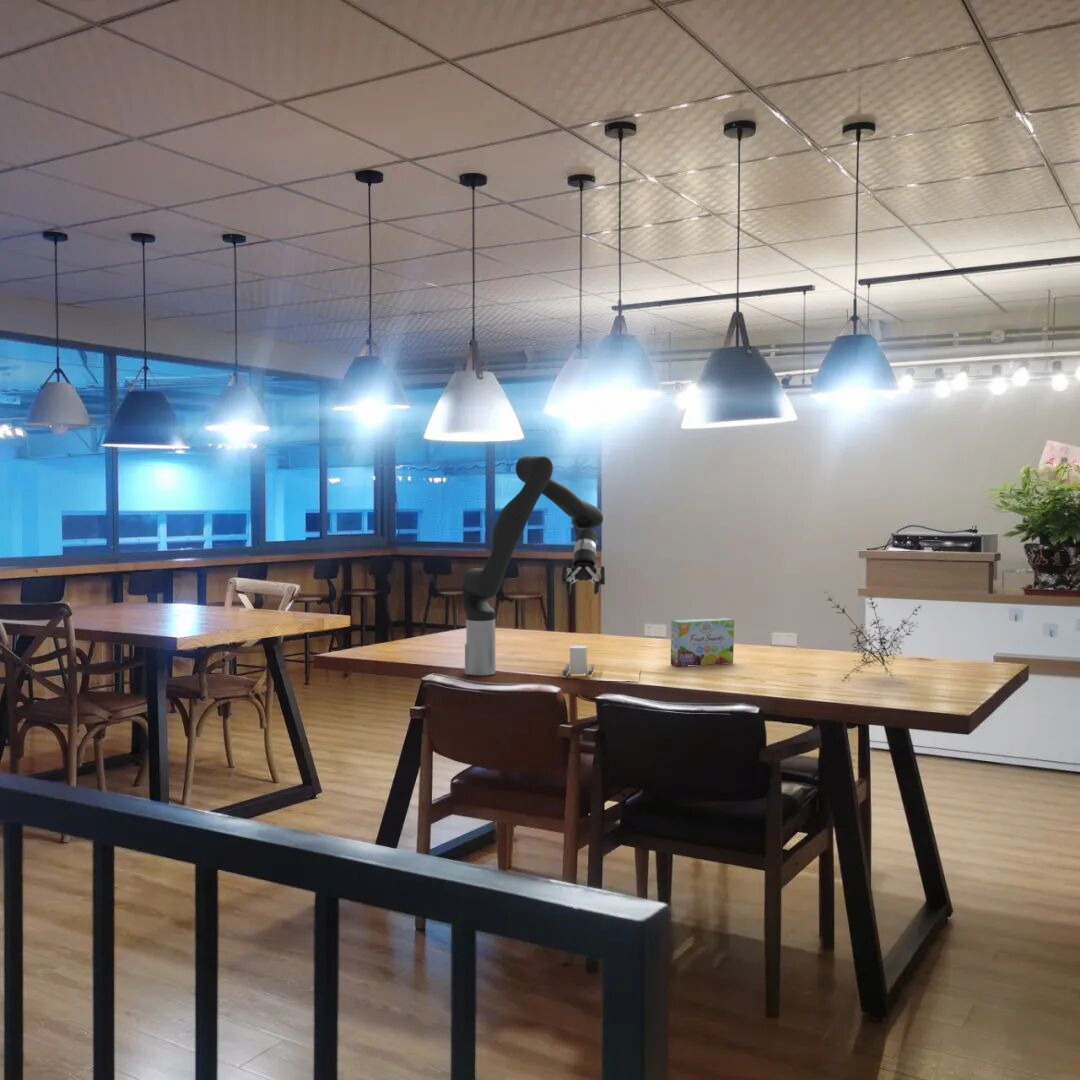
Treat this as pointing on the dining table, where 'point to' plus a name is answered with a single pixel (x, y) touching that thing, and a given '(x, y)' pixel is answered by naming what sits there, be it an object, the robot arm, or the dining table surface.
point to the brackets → (568, 670)
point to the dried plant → (875, 640)
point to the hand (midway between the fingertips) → (582, 592)
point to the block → (578, 659)
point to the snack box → (702, 641)
